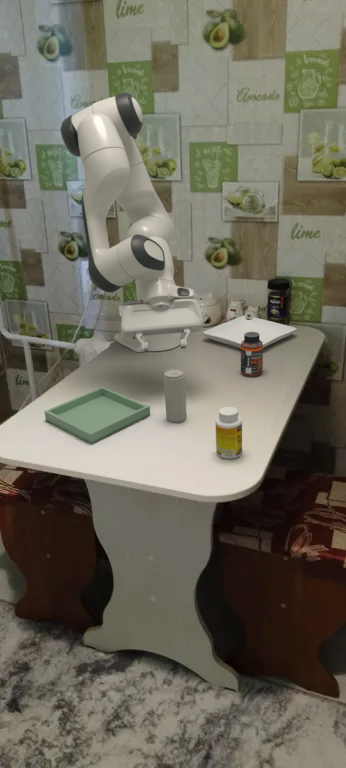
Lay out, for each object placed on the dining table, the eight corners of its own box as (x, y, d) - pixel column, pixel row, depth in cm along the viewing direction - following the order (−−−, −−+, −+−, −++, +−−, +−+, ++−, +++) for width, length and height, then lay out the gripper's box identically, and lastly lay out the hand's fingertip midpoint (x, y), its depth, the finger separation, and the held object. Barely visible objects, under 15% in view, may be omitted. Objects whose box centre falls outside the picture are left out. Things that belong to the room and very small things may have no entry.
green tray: (45, 420, 157) (44, 411, 156) (103, 395, 168) (102, 386, 167) (91, 444, 145) (90, 434, 144) (150, 415, 156) (149, 406, 155)
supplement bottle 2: (252, 379, 172) (252, 339, 168) (236, 373, 177) (235, 334, 172) (267, 372, 176) (267, 333, 171) (251, 366, 180) (250, 328, 175)
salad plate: (298, 337, 200) (298, 326, 199) (255, 358, 187) (255, 347, 185) (244, 323, 214) (244, 313, 212) (201, 342, 200) (200, 332, 199)
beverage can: (184, 424, 152) (182, 377, 147) (164, 423, 153) (161, 376, 148) (188, 414, 156) (186, 368, 151) (168, 413, 157) (165, 368, 152)
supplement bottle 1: (241, 460, 136) (240, 417, 131) (215, 459, 137) (213, 416, 132) (243, 447, 141) (242, 404, 136) (217, 446, 142) (216, 404, 137)
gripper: (117, 296, 158) (120, 347, 154) (200, 289, 159) (206, 340, 154) (119, 308, 164) (122, 358, 160) (199, 301, 165) (205, 350, 160)
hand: (164, 349), depth 157 cm, fingers open, 8 cm apart
